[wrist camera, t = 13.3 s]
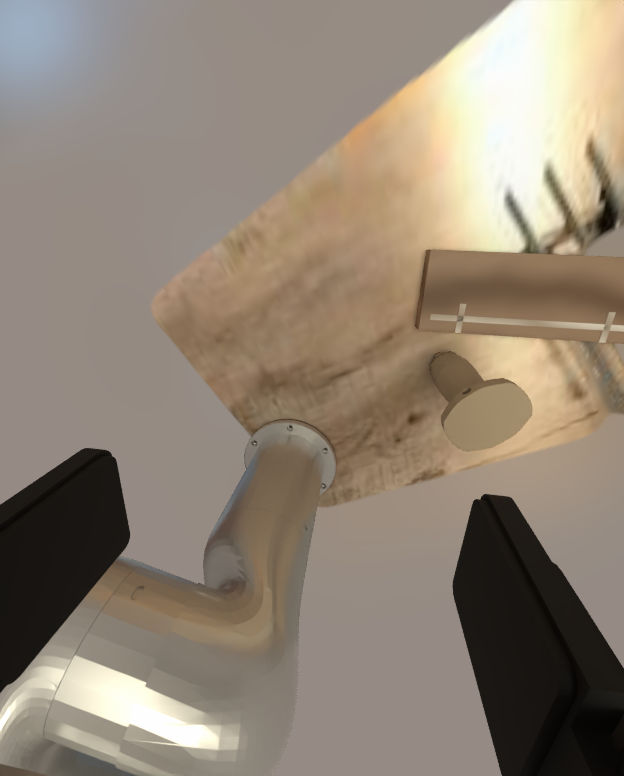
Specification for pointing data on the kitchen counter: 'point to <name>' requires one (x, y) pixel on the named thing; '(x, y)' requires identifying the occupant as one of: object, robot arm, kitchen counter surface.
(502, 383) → the handle
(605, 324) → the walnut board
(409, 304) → the kitchen counter surface
